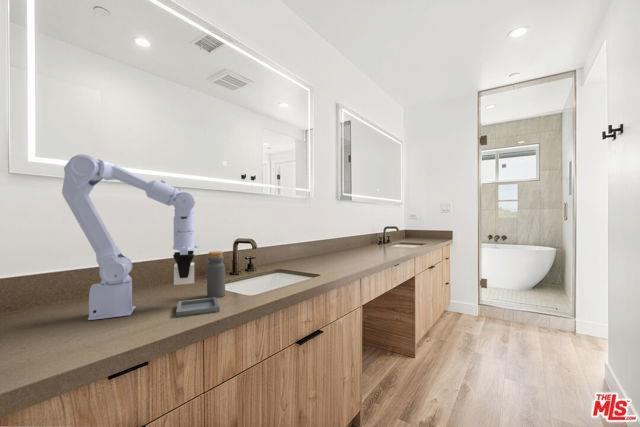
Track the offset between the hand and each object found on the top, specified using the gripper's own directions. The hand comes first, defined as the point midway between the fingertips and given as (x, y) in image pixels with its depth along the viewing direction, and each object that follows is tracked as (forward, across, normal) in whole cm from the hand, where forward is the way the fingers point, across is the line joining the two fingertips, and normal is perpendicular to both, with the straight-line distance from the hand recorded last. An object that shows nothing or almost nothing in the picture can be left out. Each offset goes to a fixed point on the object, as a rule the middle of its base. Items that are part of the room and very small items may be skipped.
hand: (184, 275), depth 88 cm
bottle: (+9, +7, -10) cm, 15 cm away
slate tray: (+9, -6, -4) cm, 11 cm away
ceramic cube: (+2, 0, 0) cm, 2 cm away
